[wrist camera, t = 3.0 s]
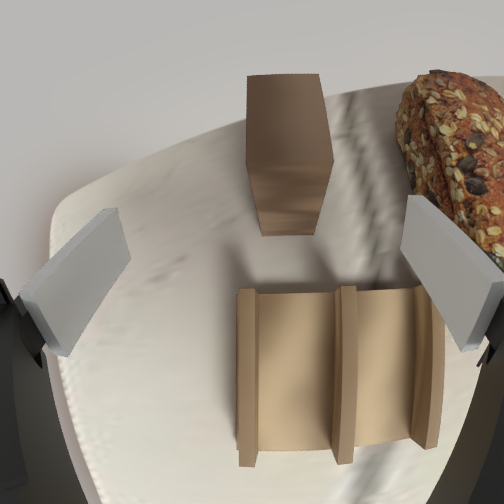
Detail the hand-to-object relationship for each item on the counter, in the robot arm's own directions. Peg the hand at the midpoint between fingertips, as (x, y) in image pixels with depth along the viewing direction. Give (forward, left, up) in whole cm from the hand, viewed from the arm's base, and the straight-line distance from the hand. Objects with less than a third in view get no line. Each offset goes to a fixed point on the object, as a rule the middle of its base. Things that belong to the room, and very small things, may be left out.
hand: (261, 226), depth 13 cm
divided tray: (-8, +4, -11) cm, 14 cm away
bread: (-13, -13, -11) cm, 21 cm away
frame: (+2, -6, -11) cm, 12 cm away
